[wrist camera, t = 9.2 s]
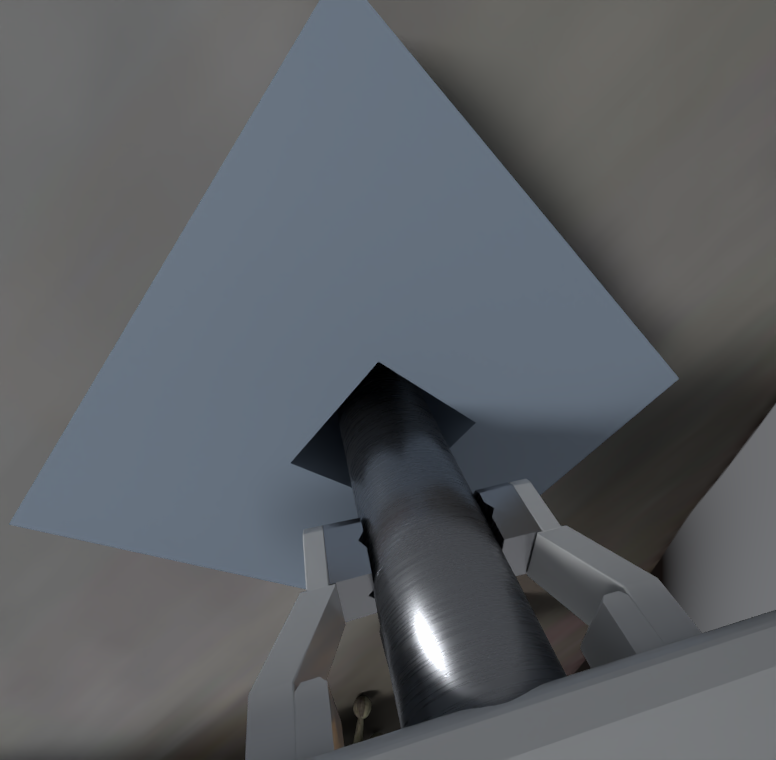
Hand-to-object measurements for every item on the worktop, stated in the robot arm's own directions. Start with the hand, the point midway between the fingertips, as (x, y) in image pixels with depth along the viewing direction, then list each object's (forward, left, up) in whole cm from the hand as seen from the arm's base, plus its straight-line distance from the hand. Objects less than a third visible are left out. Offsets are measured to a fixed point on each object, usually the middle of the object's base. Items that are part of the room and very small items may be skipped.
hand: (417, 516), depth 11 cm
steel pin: (0, 0, -5) cm, 5 cm away
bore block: (0, 0, -8) cm, 8 cm away
